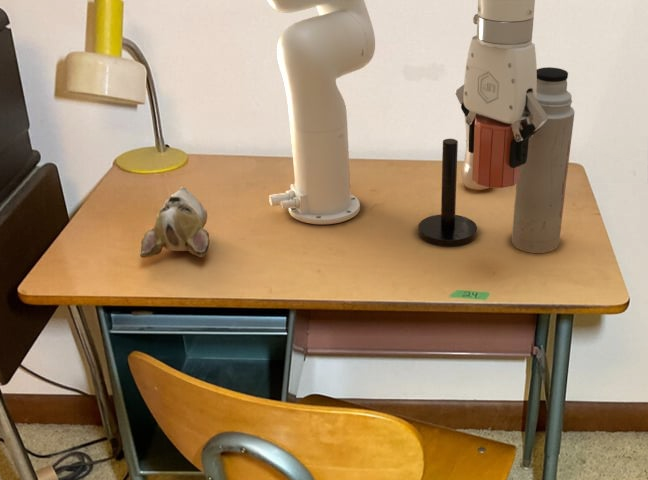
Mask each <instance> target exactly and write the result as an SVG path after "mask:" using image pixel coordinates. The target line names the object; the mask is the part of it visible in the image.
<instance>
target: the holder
mask: <svg viewBox="0 0 648 480" xmlns="http://www.w3.org/2000/svg"><path fill="white" fill-rule="evenodd" d="M458 147H459V141H458V140H457V139H456V138H445V139H443V140H442V155H441V157H442V158H441V159H442V161H441V198H440V199H441V200H440V201H441V203H440V205H441V206H440V214H435V215H430V216H427V217H425V218H423V219H422V220H421V221H420V222H419V223H418V236H419V237H420V239H421V240H422V241H424V242H425V243H428V244H430V245H434V246H437V247H445V248H446V247H448V248H449V247H450V248H451V247H460V246H464V245H465V246H466V245H468V244H470V243H472V242H473V241H475V240H476V238H477V236H478V225H477V223H476V222H475V221H473V220H472V219H470V218H468V217H466V216H463V215H459V214H456V207H457V205H456V204H457V178H458V176H457V175H458V152H459V151H458V149H459V148H458Z"/></svg>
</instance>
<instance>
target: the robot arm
mask: <svg viewBox="0 0 648 480" xmlns="http://www.w3.org/2000/svg"><path fill="white" fill-rule="evenodd" d="M266 1H267V2H268V4H269V6H270V7H271V8H273V10H275V11H276V12H279V13H282V14H293V13H297V12H301V11H305V10H309V9H313V8H316V9H317V12H318V15H315V16H312V17H309V18H305V19H302V20H299V21H296V22H295V23H293V24H290V26H288V27H287V28H286V29H285V30H284V31H283V32H282V34H280V37H279V39H278V41H277V46H276V57H277V63H278V66H279V70H280V73H281V77H282V80H283V85H284V89H285V90H284V91H285V94H286V102H287V110H288V119H289V129H290V130H289V131H290V139H291V152H292V163H293V164H292V165H293V174H294V183H290V184H289V185H290V189H288V190H285V192H283V193H273V194H269V195H268V201H269V204H270V206H271V207H275V206H280V208H281V210H286V209H288V213H289V215H290V216H291V217H292V218H294V219H295V220H297V221H299V222H302V223H306V224H311V225H333V224H334V225H335V224H339V223H343V222H346V221H348V220H351V219H353V218H354V217H356V216H357V215H358V214H359V213H360V211H361V203H360V200H359V198H358V197H356V196H355V195H353V194H352V193H351V177H350V176H351V175H350V151H349V133H348V131H349V130H348V113H347V112H348V111H347V105H346V102H345V99H344V97H343V95H342V93H341V91H340V90H339V88H338V85H337V79H339V78H341V77H343V76H345V75H348V74H351V73H354V72H356V71H359V70H361V69H363V68H365V67H366V66H367V65H368V64H369V63H370V62H371V61H372V60H373V57H374V55H375V51H376V37H375V36H376V35H375V31H374V27H373V24H372V20H371V17H370V14H369V11H368V8H367V5H366V1H365V0H266ZM535 4H536V0H477V13H475V14H474V16H473V18H472V21H473V24H474V25H476V35H474V36H472V37H471V40H470V45H469V48H468V52H467V57H466V65H465V72H464V81H463V82H464V83H463V84H462V85H461V86H460V87H458V88H457V89H456V90H455V95H456V98H457V100H458V102H459V105H460V109H461V111H462V113H463V114H465V116H466V123H467V124H468V125H469V149H468V151H469V152H470V153H473V151H474V127H475V117H476V115H478V114H479V115H482V116H485V117H488V118H491V119H494V120H497V121H501V122H504V123H509V124H510V125H511V128H512V131H513V135H514V138H515V140H512V141H511V147H510V161H509V166H510V167H511V168H516V167H518V166H521V165H523V164H525V163H526V161H527V155H528V143H529V138H530V137H532V136H533V134H535V133H536V132H537V131H538V130H539V129H540V127H541V126H542V125H543V124H544V123H545V122H546V121H547V120H548V116H547V114H546V112H545V111H544V110H543V108H542V107H541V105H540V104H539V102H538V101H537V99H536V89H537V69H538V68H537V53H536V46H535V45H536V44H535V43H533V31H534V30H533V29H534V17H535V6H536V5H535ZM465 116H464V117H465ZM531 116H533V120H532V121H531V123H530V120H529V117H531ZM519 121H521V125H522V128H523V129H522V130H521V127H520V124H519Z"/></svg>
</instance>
